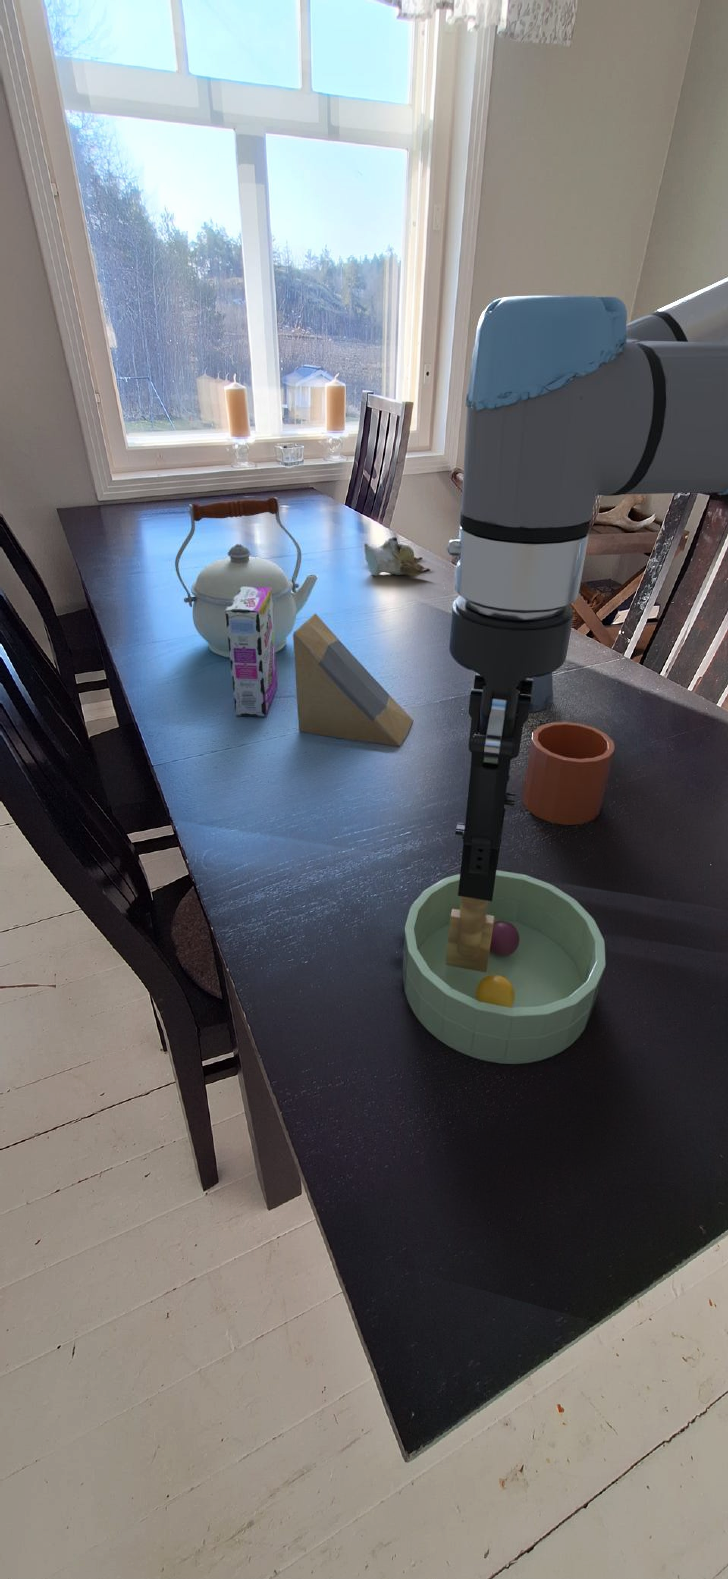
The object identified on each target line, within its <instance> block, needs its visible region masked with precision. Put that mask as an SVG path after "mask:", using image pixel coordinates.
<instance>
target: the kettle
mask: <svg viewBox="0 0 728 1579" xmlns="http://www.w3.org/2000/svg"><path fill="white" fill-rule="evenodd" d="M188 507H189V510H188V515H189V516H190V523H191V524H190V525H191V527H190V531H189V533H188V535H187V537H186V538H185V539H184V541H183V543H182V544H181V546H180V548H179V549H178V552H177V554H176V556H175V560H174V567H175V573H176V575H177V577H178V580H179V581H180V584H181V586H183V588H184V590H185V592H186V594H187V597H184V598H183V602H184V603H185V604H186V603H188V606H189V607H190V608H192V622H193V625H194V628H195V630H196V631H197V633H198V634H199V636H200V637H201V638H202V639H203V640H205V641H206V642H207V644H208V649H209V650H210V651H211V652H213V653H214V654H215V655H218V656H220V657H225V658H229V659H230V653H229V643H228V633H227V622H226V614H225V610H226V609H227V607H228V606H229V604H230V603H231V601H232V600H233V599H234V597H235V596H236V594H237V593H238V591H239V590H240V588H241V587H268V588H272V603H273V618H274V637H275V654H276V653H278V652H279V651H281V650H282V649H284V647H285V646H286V644H287V638H288V636H289V635H290V634H291V632H292V631H293V629H294V627H295V624H296V619H297V615H298V614H299V613H300V612H301V610H302V609H303V608H304V607H305V605H306V603H307V601H308V600H309V597H310V596H311V593H312V591H313V589H314V588H315V586H316V582H317V580H318V578H319V576H318V575H315V574H307V576H306V577H305V579H304V581H303V582H302V583H301V585H300V584H299V583H298V582H296V581H297V578H298V575H299V572H300V569H301V564H302V550H301V546H300V544H299V543H298V541H297V540H296V539H295V538H294V537H293V535H291V533H290V532H289V531H288V530H287V529H286V527H285V526H284V525H283V524H282V521H281V517H280V509H279V508H280V502H279V498H278V497H276V496H269V497H268V498H267V499H257V498H256V499H253V498H249V499H248V498H247V499H242V500H240V499H237V500H235V499H234V500H228V501H215V502H210V503H206V504H201V505H200V504H198V503H197V502H195V503H192V504H191V503H190V504H189V506H188ZM265 513H269V514H271V515H275V516H274V517H275V520H276V523H277V524H278V525H279V527H280V528H281V529H282V531H284V533H285V534H286V535H287V536H288V537H289V538H290V539H291V541H292V543H293V544H294V546H295V548H296V554H297V555H296V563H295V567H294V570H293V573H292V576H291V578H289V577H287V575H286V573H285V571H284V570H283V569H282V568H281V567H280V566H279V565H278V564H276V563H274V562H273V561H270V560H268V559H266V558H262V557H257V556H251V555H252V551H251V550H249V548H248V547H246V546H245V545H242V544H241V543H236V544H235V545H234V546H232V547H230V549H229V550H228V552H227V556H228V557H224V558H221V559H217V560H215V561H213V562H211V563H209V564H208V565H206V566H205V567H203V568H202V570H200V572H199V574H198V575H197V577H196V581H194V583H193V584H192V585H191V586H190V591H189V590H188V588H187V586H186V585H185V582H184V581H183V579H182V577H181V573H180V568H179V563H180V559H181V557H182V554H183V553H184V551H185V550H186V548H187V547H188V545H189V543H190V541H191V539H192V538H193V536H194V535H195V530H196V522H200V521H201V520H203V519H227V518H238V517H239V518H242V517H252V516H257V515H261V514H265ZM190 592H191V593H190ZM191 594H192V595H193V596H192V595H191Z"/></svg>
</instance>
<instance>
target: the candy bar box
mask: <svg viewBox="0 0 728 1579" xmlns="http://www.w3.org/2000/svg"><path fill="white" fill-rule="evenodd" d="M225 614H226V622H227V633H228V643H229V653H230V658H229V662H230V671H231V672H230V673H231V681H232V682H231V683H232V692H233V693H232V694H233V703H234V715H235V716H236V717H253V718H265V717H267V714H268V712H269V709H270V706H271V703H272V700H273V699H274V696H275V692H276V690H277V688H278V673H277V671H278V670H277V656H276V655H277V654H276V653H275V637H274V618H273V603H272V588H268V587H241V588H240V590H239V591H238V593H237V594H236V596H235V597H234V599H233V600H232V601H231V603H230V604H229V606H228V607H227V609H226V610H225Z"/></svg>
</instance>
